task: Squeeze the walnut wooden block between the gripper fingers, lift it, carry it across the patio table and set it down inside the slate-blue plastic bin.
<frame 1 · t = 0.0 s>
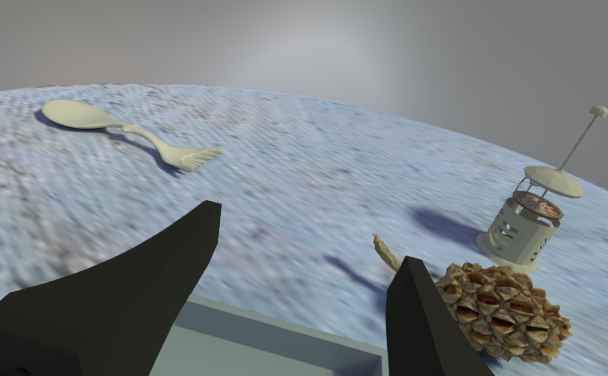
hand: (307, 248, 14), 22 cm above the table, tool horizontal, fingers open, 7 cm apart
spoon: (127, 143, 62), on the table
pine cone: (436, 320, 42), on the table
french press: (503, 249, 60), on the table
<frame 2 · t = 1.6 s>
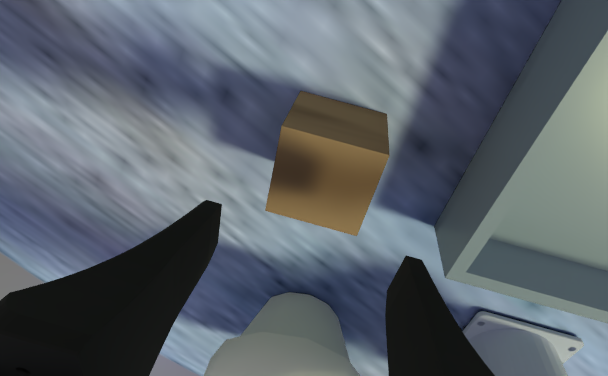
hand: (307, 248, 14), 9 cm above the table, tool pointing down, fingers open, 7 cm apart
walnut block: (332, 140, 22), on the table
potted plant: (305, 316, 31), on the table
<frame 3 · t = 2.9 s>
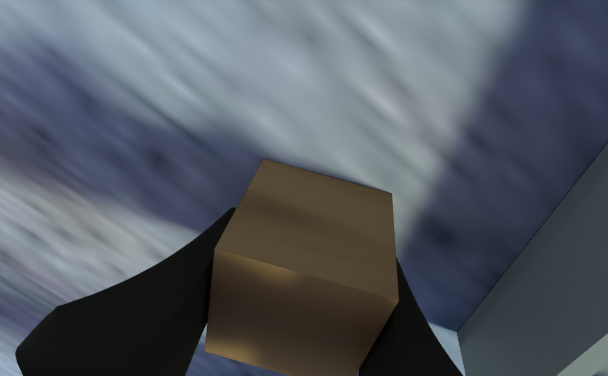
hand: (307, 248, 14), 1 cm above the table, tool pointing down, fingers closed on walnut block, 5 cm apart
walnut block: (312, 225, 15), on the table, touching gripper
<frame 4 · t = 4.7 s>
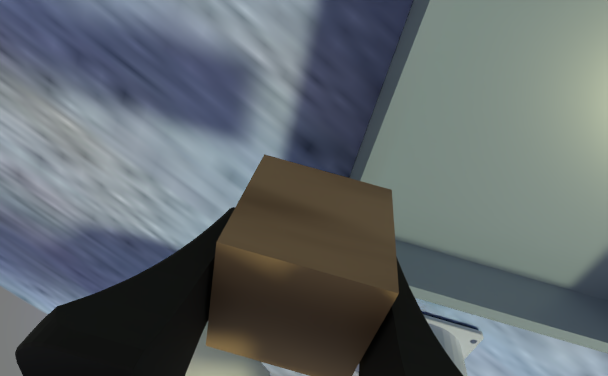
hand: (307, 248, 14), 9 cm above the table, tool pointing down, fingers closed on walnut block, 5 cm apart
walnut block: (313, 221, 15), point 8 cm above the table, touching gripper
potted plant: (230, 309, 32), on the table
slate bin: (564, 137, 19), on the table
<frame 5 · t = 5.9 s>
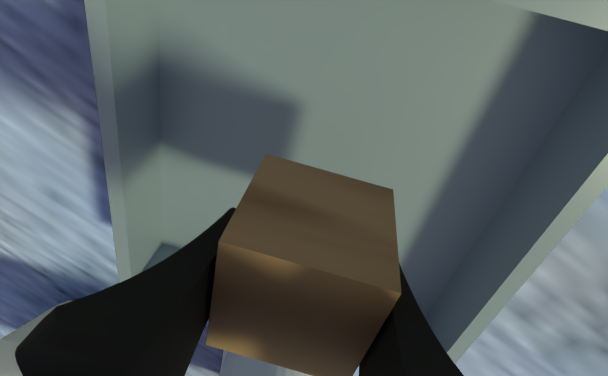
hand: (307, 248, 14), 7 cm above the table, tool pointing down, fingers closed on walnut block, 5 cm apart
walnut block: (313, 220, 15), point 6 cm above the table, touching gripper
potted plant: (99, 322, 33), on the table
slate bin: (328, 159, 20), on the table
when the fingers open (5 cm above the table, at t = 6.8 s): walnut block drops 3 cm, resting on slate bin.
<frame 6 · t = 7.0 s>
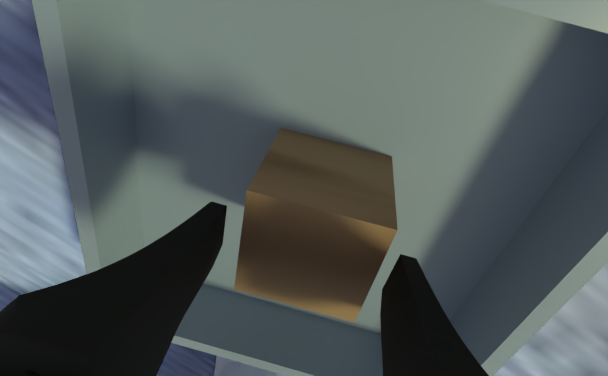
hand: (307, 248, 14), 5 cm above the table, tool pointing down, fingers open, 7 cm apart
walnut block: (323, 187, 17), point 1 cm above the table, touching slate bin
slate bin: (323, 180, 18), on the table
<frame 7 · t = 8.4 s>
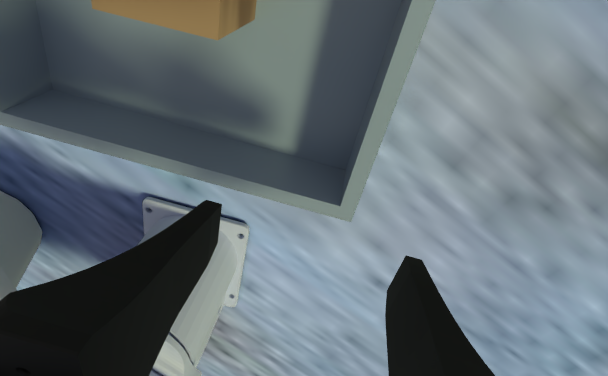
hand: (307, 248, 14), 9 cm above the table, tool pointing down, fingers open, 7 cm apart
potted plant: (16, 219, 31), on the table
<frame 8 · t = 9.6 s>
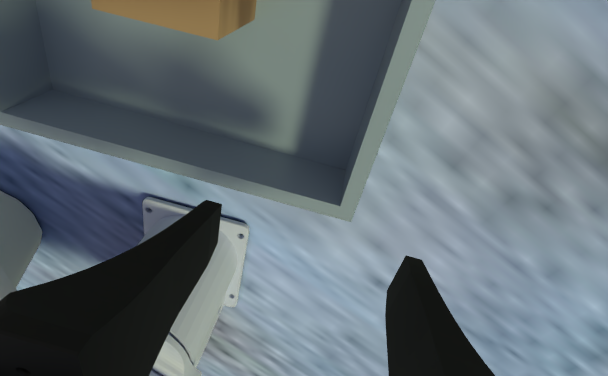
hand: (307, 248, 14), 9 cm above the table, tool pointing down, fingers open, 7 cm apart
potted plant: (16, 219, 31), on the table
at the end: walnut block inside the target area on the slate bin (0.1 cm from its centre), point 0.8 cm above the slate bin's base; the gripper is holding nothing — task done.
